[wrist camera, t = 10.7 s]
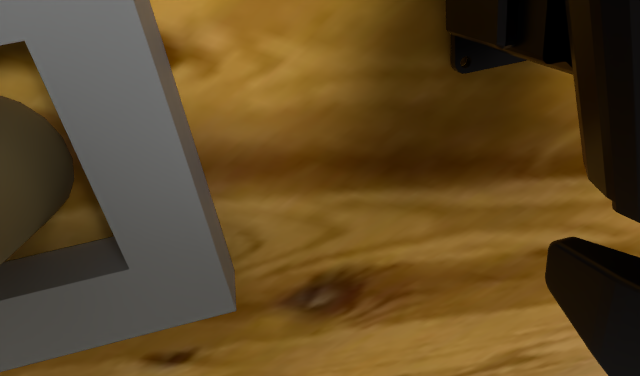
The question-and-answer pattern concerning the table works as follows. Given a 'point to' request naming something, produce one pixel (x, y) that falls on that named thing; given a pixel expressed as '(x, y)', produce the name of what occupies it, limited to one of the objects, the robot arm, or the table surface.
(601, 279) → the robot arm
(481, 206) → the table surface
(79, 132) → the socket plate
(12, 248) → the brown pawn
